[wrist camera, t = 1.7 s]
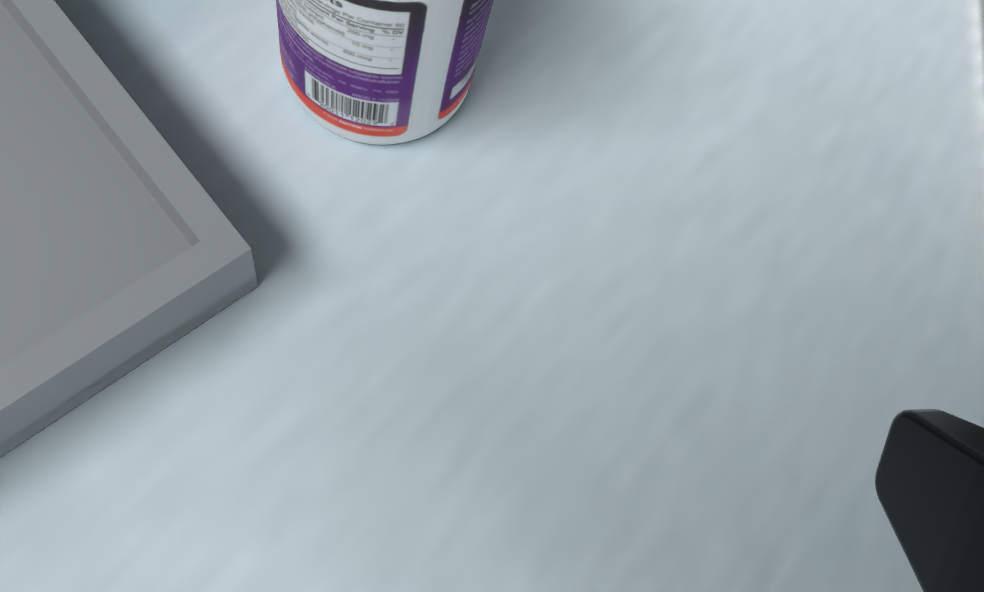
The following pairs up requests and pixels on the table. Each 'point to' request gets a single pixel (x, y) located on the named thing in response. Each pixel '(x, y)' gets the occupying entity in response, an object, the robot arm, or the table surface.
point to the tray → (92, 228)
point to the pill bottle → (380, 63)
